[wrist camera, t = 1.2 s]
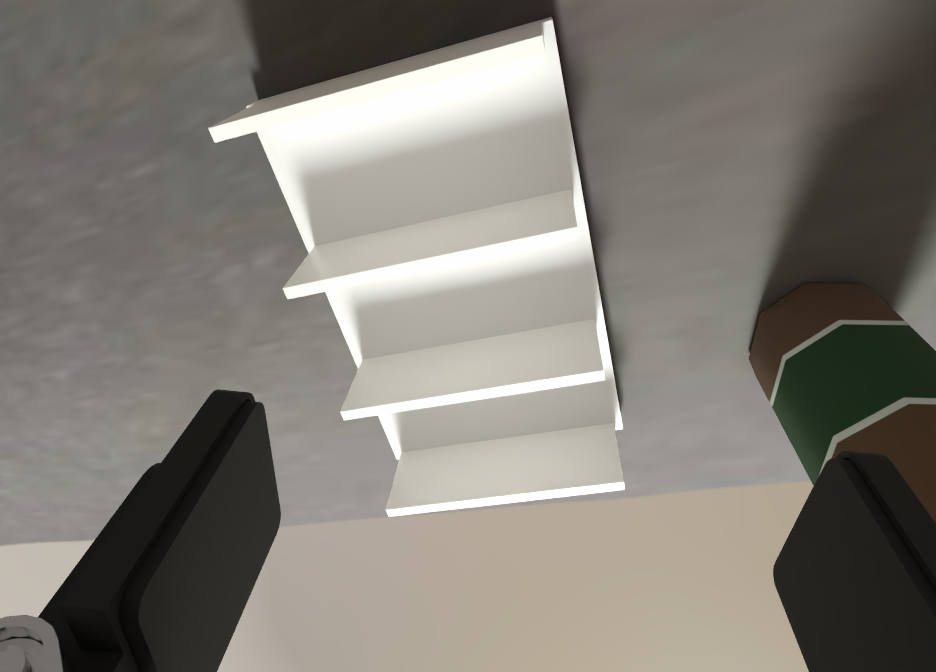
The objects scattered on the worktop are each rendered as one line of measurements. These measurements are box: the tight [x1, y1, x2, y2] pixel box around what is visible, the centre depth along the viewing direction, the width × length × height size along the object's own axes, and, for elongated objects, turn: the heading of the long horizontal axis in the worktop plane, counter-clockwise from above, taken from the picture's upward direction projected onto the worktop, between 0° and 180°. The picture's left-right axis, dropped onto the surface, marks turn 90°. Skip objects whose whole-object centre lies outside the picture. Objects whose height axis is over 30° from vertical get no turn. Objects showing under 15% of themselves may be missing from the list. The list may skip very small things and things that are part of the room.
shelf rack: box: [208, 17, 625, 517], centre depth 32 cm, size 15×23×6 cm, turn 15°
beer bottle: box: [749, 283, 936, 523], centre depth 25 cm, size 8×8×24 cm
